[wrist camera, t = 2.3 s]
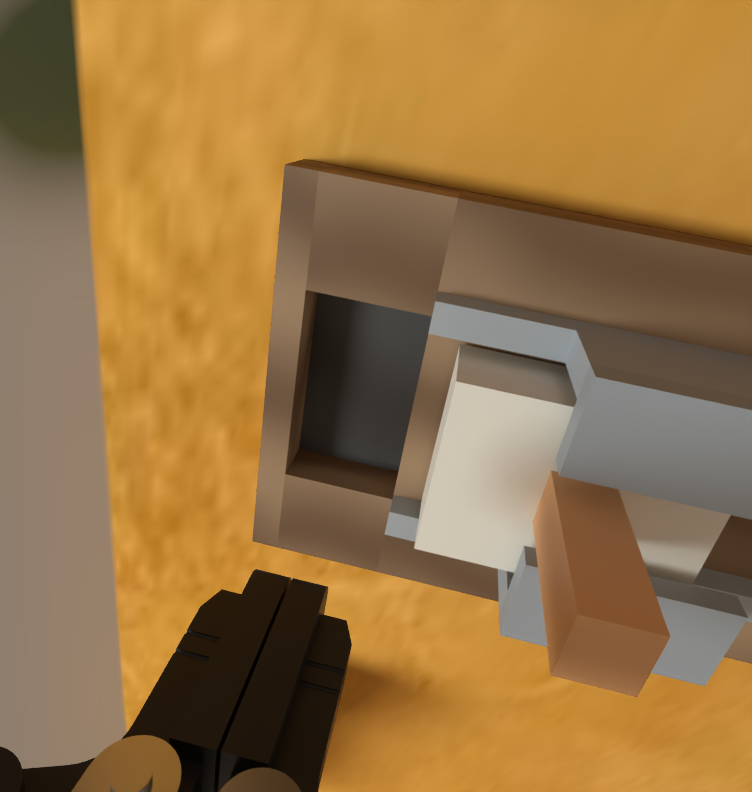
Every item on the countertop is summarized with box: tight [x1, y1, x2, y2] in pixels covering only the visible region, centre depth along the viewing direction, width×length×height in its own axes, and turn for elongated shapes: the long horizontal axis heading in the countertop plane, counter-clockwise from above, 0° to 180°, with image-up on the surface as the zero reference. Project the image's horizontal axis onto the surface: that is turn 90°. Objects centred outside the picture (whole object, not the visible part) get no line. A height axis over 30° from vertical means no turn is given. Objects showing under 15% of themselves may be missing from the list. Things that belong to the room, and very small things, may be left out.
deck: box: [253, 159, 752, 664], centre depth 20 cm, size 14×24×2 cm, turn 80°
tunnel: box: [385, 292, 752, 686], centre depth 17 cm, size 9×15×4 cm, turn 80°
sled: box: [414, 344, 731, 697], centre depth 15 cm, size 6×8×8 cm
